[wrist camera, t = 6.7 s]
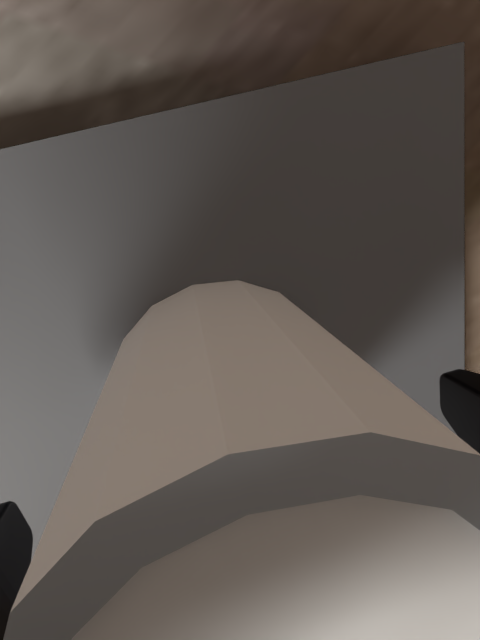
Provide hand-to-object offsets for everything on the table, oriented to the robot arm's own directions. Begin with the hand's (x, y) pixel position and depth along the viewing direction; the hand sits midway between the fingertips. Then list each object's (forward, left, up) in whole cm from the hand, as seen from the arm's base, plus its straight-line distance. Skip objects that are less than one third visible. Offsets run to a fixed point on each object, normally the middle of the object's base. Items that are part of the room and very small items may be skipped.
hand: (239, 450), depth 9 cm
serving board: (0, 0, -4) cm, 4 cm away
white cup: (0, 0, -3) cm, 3 cm away
